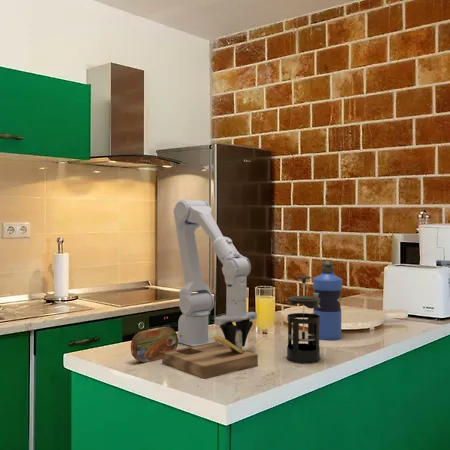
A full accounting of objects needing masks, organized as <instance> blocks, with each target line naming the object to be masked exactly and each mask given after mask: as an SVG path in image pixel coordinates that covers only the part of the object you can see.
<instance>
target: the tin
mask: <svg viewBox="0 0 450 450" xmlns="http://www.w3.org/2000/svg"><path fill="white" fill-rule="evenodd" d="M130 342H131V343H130V350H131V351H130V352H131V356H132V357H133V358H134V359H135V360H136V361H138V362H142V363H145V364H146V363H151V362H154V361H159V360H162V352H166V351H171V350H176V349H178V345H179V342H178V333H177V332H176V331H175V329H173V328H172V327H169V326H167V327H166V326H161V327H155V328H151V329H146V330H142V331H138V332H137V333H136V334H135V335H134V336H133V338H132V340H131V341H130Z"/></svg>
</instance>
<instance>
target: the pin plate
mask: <svg viewBox="0 0 450 450" xmlns="http://www.w3.org/2000/svg"><path fill="white" fill-rule="evenodd" d="M243 351H244V353H243V354H240V353H237V352H233V351H231V350H229V349H228V348H226V347H225V346H224V345H222V344H221V343H219V342H215V341H213V343H207V344H202V345H197V346H187V347H183V348H177V349H176V350H171V351H166V352H162V359H161V360H162V361H161V362H162V364H163V365H166V366H168V367H171V368H174V369H177V370H180V371H182V372H185V373H187V374H191V375H193V376H195V377H198V378H201V379H208V378H213V377H218V376H223V375H226V374H229V373H233V372H239V371H242V370H246V369H251V368H254V367H258V365H259V364H258V363H259V361H258V360H259V358H258V357H259V354H257V353H253V352H251V351H246V350H243Z"/></svg>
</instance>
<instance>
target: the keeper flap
mask: <svg viewBox="0 0 450 450" xmlns="http://www.w3.org/2000/svg"><path fill="white" fill-rule="evenodd" d="M212 339H213V340H215V341H216V342H217V343H219V344H222V345H224V346H225V347H226V348H228V349H229V350H231V351H233V352H237V353H240V354H243V353H244V351H245V350H243V349H242V350H241V349H239V348H238V347H236V346H235V345H233V344H232V343H231V342H229V341H228V340H226V339H225V337H223V336H217V335H213V337H212Z"/></svg>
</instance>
